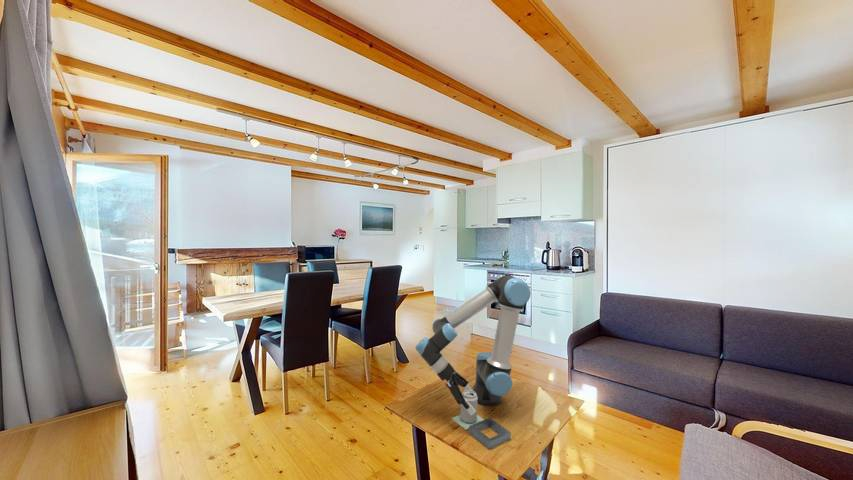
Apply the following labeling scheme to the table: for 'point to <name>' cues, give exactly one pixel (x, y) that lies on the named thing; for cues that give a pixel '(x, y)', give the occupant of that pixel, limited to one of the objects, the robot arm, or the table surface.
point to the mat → (464, 424)
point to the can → (473, 401)
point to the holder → (488, 442)
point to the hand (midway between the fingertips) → (474, 405)
